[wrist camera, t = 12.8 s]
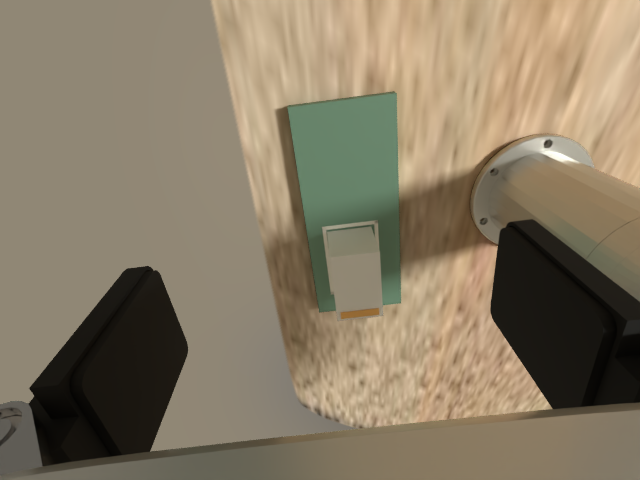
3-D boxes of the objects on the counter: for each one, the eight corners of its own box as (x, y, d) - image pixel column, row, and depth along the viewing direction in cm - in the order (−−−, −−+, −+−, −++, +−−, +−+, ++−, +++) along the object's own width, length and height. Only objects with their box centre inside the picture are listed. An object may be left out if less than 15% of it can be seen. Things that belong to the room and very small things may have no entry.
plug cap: (326, 231, 40) (329, 258, 35) (371, 226, 40) (380, 252, 35) (334, 290, 43) (337, 321, 38) (374, 285, 43) (383, 316, 38)
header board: (288, 105, 35) (287, 107, 34) (393, 91, 34) (396, 93, 33) (319, 306, 46) (319, 312, 45) (398, 297, 46) (401, 303, 45)
